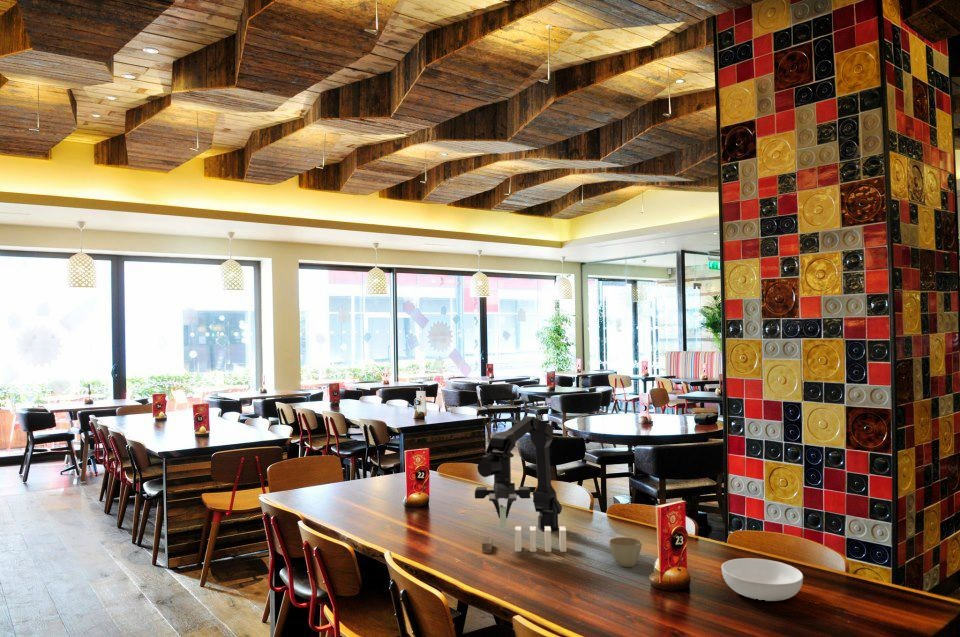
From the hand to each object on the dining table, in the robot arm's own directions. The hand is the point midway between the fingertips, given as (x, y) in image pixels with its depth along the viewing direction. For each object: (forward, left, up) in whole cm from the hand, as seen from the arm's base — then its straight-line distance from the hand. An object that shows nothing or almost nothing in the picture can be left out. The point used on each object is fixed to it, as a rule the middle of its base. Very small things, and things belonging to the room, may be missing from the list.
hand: (503, 518), depth 239 cm
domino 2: (-9, +4, -10) cm, 14 cm away
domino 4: (-19, +7, -10) cm, 22 cm away
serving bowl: (-54, +63, -11) cm, 84 cm away
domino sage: (0, 0, -3) cm, 3 cm away
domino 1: (-5, +2, -10) cm, 11 cm away
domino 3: (-14, +5, -10) cm, 18 cm away
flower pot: (-31, +28, -11) cm, 43 cm away
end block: (+5, -2, -10) cm, 12 cm away
